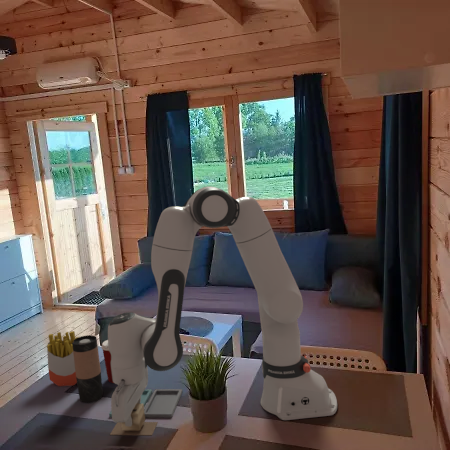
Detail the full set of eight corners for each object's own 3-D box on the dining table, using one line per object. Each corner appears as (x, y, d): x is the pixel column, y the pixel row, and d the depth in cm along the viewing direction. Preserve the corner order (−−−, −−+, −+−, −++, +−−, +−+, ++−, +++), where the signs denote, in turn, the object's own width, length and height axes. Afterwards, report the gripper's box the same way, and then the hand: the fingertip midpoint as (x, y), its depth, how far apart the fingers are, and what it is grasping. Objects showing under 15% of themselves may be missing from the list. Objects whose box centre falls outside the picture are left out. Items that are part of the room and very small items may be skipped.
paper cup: (122, 386, 150) (117, 347, 148) (101, 385, 152) (96, 346, 150) (131, 374, 158) (127, 337, 156) (111, 374, 159) (107, 337, 157)
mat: (158, 424, 127) (157, 422, 127) (152, 437, 121) (151, 435, 121) (117, 423, 128) (117, 421, 128) (110, 436, 123) (109, 434, 122)
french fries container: (81, 385, 152) (74, 335, 150) (50, 387, 153) (43, 337, 150) (85, 379, 157) (79, 330, 154) (55, 380, 157) (49, 332, 155)
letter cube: (145, 419, 127) (143, 403, 126) (139, 430, 122) (137, 413, 121) (128, 419, 127) (126, 403, 126) (122, 430, 122) (120, 413, 122)
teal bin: (152, 393, 144) (152, 389, 144) (138, 418, 130) (138, 414, 130) (125, 393, 145) (125, 389, 145) (109, 418, 131) (109, 413, 131)
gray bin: (182, 393, 142) (182, 389, 142) (172, 419, 129) (171, 414, 129) (155, 393, 144) (155, 389, 143) (142, 418, 130) (141, 414, 130)
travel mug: (108, 396, 144) (101, 338, 141) (88, 407, 138) (80, 346, 135) (94, 389, 149) (87, 333, 146) (74, 400, 143) (66, 341, 140)
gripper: (126, 391, 111) (132, 441, 114) (149, 355, 132) (154, 398, 134) (102, 391, 112) (108, 441, 114) (129, 355, 132) (134, 398, 134)
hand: (133, 418), depth 124 cm, fingers closed on letter cube, 5 cm apart
